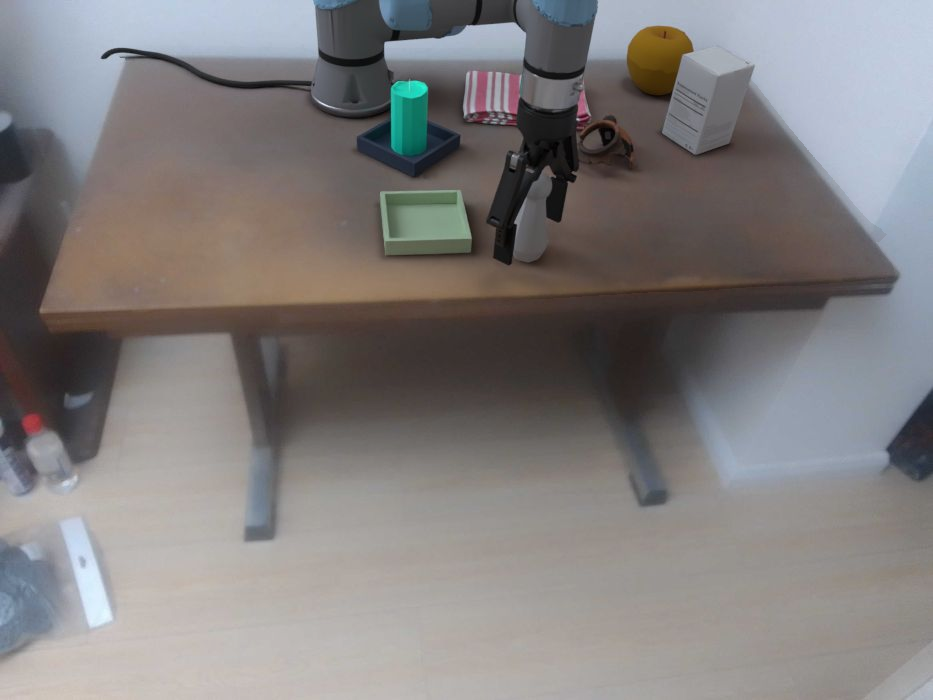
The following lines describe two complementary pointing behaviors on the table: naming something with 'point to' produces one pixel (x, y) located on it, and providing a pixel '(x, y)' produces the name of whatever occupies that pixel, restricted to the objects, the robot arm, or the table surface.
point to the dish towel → (502, 99)
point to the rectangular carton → (707, 99)
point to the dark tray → (380, 148)
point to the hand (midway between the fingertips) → (528, 239)
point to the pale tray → (424, 222)
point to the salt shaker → (533, 222)
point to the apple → (657, 58)
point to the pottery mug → (606, 142)
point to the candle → (409, 117)
